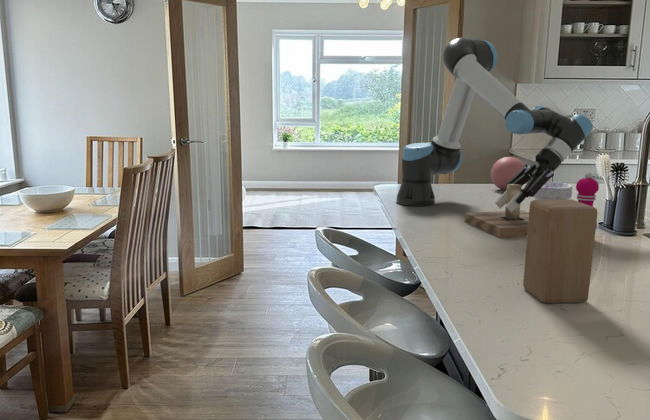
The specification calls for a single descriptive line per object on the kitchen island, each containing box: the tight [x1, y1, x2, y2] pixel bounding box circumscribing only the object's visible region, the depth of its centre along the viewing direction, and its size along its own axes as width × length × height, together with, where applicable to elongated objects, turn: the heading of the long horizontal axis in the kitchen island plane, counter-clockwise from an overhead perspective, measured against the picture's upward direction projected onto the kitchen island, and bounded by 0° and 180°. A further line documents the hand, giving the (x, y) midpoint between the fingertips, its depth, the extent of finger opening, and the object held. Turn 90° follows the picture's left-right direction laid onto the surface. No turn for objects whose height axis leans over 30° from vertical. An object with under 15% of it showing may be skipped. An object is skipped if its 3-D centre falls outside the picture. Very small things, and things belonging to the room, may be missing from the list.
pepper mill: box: [575, 172, 600, 229], centre depth 158 cm, size 7×7×20 cm
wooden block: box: [522, 198, 598, 304], centre depth 112 cm, size 10×10×20 cm
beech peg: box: [504, 184, 523, 221], centre depth 173 cm, size 4×4×14 cm
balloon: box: [490, 156, 530, 192], centre depth 243 cm, size 15×20×15 cm
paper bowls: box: [532, 181, 573, 200], centre depth 214 cm, size 15×15×8 cm
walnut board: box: [464, 209, 529, 239], centre depth 174 cm, size 22×22×3 cm
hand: (503, 207), depth 172 cm, fingers open, 5 cm apart
